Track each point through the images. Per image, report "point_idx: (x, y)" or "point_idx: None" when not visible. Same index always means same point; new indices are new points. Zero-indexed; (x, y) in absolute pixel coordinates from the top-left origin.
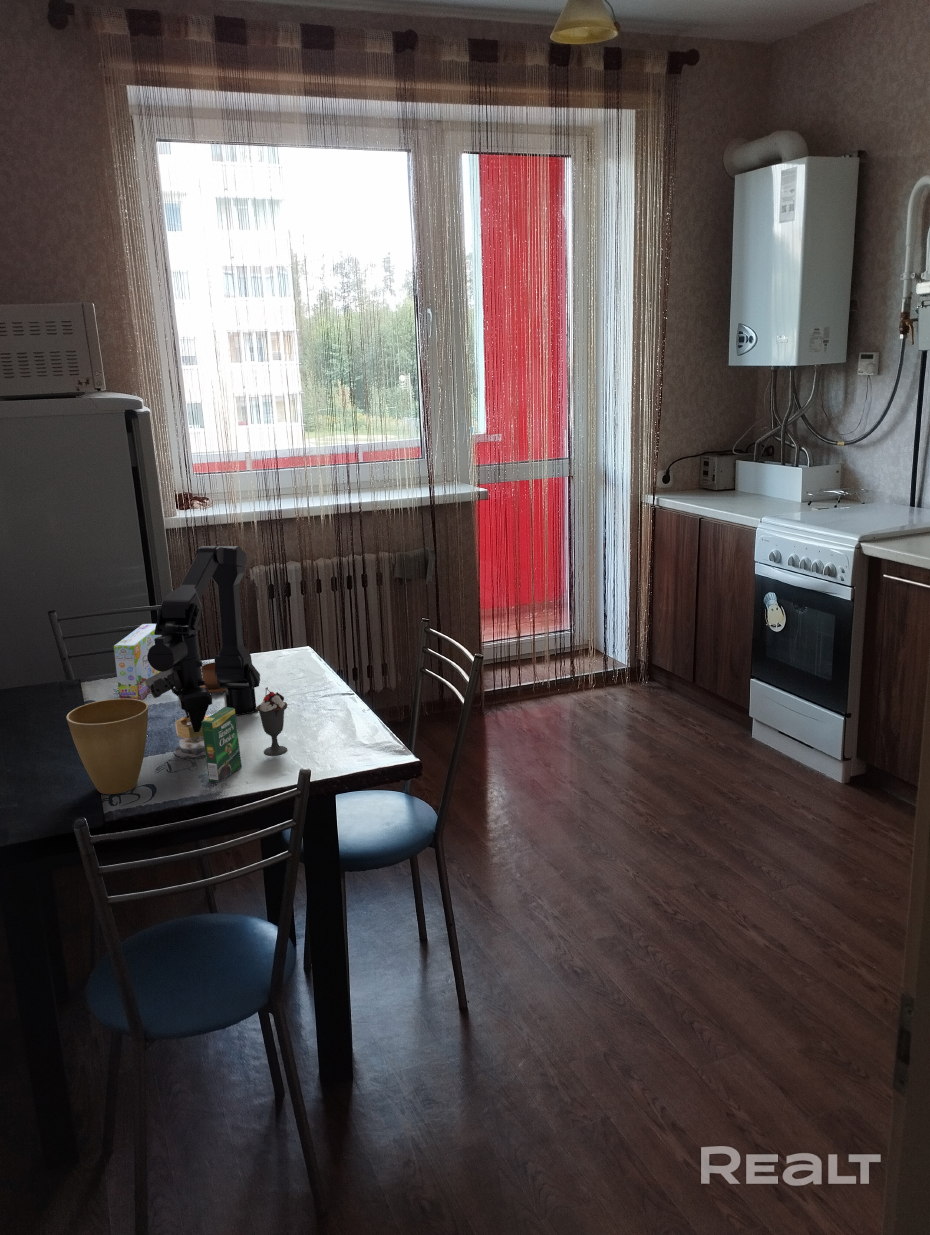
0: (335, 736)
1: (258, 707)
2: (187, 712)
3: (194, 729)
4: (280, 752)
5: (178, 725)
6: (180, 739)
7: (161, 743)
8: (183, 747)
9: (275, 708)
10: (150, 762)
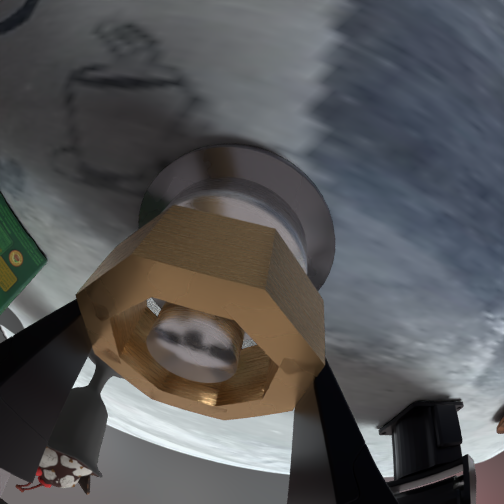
0: (142, 421)
1: (57, 451)
2: (313, 408)
3: (75, 302)
4: (90, 358)
5: (135, 267)
6: (241, 215)
7: (450, 166)
8: (190, 193)
9: None
10: (235, 12)
